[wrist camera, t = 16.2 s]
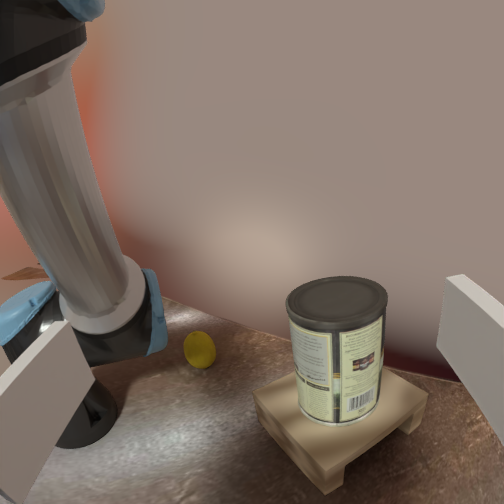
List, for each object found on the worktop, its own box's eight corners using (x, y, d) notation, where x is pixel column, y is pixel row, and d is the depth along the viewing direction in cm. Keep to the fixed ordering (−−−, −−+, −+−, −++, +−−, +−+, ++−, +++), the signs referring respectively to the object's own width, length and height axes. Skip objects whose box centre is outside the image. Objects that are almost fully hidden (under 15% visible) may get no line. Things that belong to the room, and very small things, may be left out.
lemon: (218, 376, 52) (208, 338, 49) (187, 378, 52) (175, 341, 50) (221, 358, 57) (212, 321, 55) (192, 360, 57) (182, 324, 55)
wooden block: (258, 420, 40) (252, 391, 39) (345, 374, 47) (346, 344, 45) (325, 495, 26) (325, 471, 25) (420, 424, 33) (428, 393, 31)
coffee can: (328, 362, 42) (323, 269, 38) (393, 385, 34) (403, 284, 30) (279, 405, 35) (263, 306, 31) (350, 440, 28) (355, 334, 24)
